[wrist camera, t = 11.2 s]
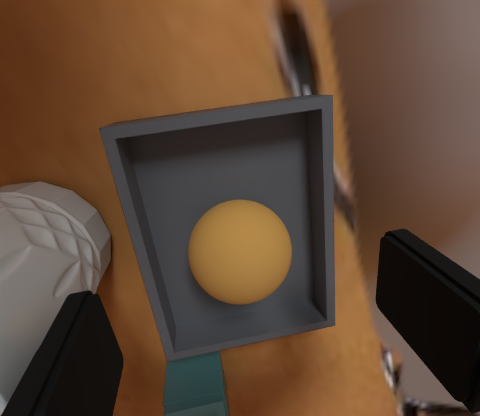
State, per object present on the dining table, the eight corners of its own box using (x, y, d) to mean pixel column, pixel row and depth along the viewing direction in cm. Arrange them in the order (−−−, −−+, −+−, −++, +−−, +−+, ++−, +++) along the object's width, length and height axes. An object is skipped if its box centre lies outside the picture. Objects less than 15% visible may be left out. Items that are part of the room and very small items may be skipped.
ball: (180, 194, 16) (174, 237, 11) (273, 179, 16) (304, 215, 12) (197, 274, 18) (198, 338, 13) (280, 258, 18) (309, 316, 14)
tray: (114, 122, 15) (99, 128, 12) (311, 94, 16) (332, 95, 13) (170, 328, 20) (167, 361, 17) (318, 298, 20) (335, 325, 18)
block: (166, 361, 20) (162, 413, 17) (219, 350, 21) (224, 399, 17) (177, 398, 22) (174, 453, 18) (226, 386, 22) (232, 439, 19)
